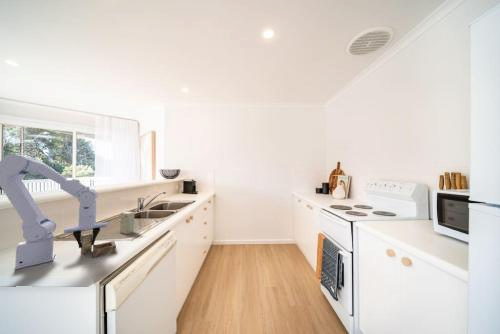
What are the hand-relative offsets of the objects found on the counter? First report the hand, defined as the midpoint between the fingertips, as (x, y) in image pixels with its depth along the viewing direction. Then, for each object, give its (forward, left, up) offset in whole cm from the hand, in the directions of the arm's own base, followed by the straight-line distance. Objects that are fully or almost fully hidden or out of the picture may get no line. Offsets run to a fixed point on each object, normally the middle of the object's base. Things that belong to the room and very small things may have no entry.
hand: (86, 246), depth 78 cm
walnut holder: (+6, -5, -3) cm, 8 cm away
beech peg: (0, 0, -3) cm, 3 cm away
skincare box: (+18, +19, -3) cm, 26 cm away
